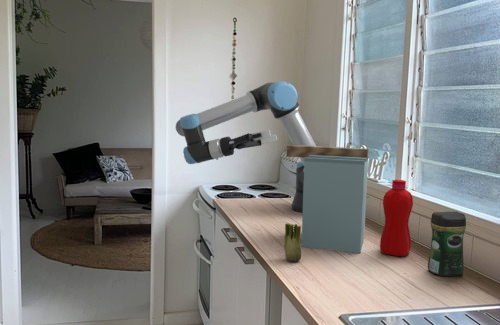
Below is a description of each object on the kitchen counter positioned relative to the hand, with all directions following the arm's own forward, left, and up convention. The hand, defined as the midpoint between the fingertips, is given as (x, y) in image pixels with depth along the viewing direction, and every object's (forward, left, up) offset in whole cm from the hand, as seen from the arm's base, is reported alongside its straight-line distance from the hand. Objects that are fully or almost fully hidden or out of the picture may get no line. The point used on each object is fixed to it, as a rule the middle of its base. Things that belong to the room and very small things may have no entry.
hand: (273, 135), depth 180 cm
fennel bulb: (+21, +31, -37) cm, 53 cm away
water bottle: (-13, +47, -37) cm, 62 cm away
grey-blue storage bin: (-5, +27, -37) cm, 46 cm away
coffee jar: (-7, +67, -37) cm, 77 cm away
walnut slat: (-6, +21, -7) cm, 23 cm away
